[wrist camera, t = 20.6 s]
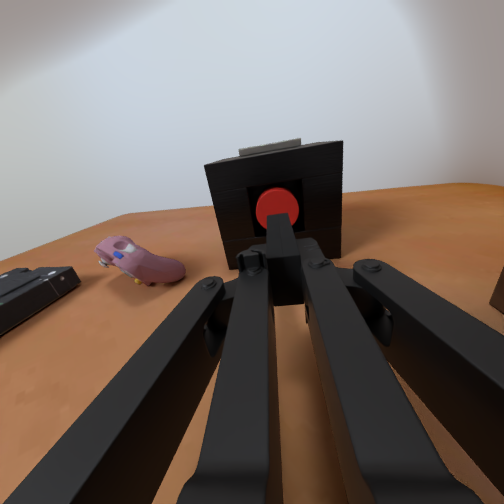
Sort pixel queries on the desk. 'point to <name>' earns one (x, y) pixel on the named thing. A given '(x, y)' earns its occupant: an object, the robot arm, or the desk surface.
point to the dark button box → (285, 174)
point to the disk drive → (31, 292)
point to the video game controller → (138, 261)
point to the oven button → (276, 204)
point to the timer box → (498, 294)
